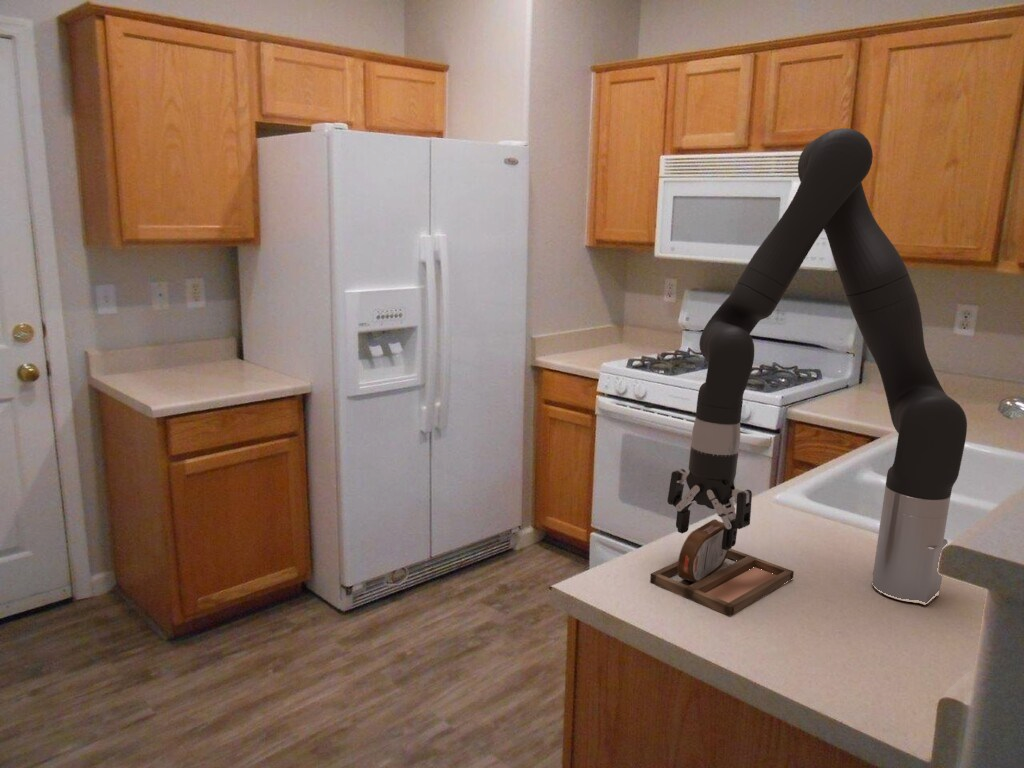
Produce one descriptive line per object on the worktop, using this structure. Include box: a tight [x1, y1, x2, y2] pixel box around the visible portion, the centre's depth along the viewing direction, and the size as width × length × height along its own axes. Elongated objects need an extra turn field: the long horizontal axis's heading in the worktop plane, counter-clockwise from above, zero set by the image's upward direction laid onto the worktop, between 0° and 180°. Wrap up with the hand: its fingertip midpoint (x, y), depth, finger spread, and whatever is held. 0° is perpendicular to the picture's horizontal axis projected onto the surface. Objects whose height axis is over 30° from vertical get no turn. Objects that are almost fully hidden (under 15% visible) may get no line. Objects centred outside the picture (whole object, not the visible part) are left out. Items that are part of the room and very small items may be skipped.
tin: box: [677, 518, 729, 584], centre depth 131 cm, size 15×3×8 cm, turn 141°
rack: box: [649, 548, 795, 617], centre depth 129 cm, size 15×20×2 cm
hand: (704, 540), depth 131 cm, fingers open, 8 cm apart
